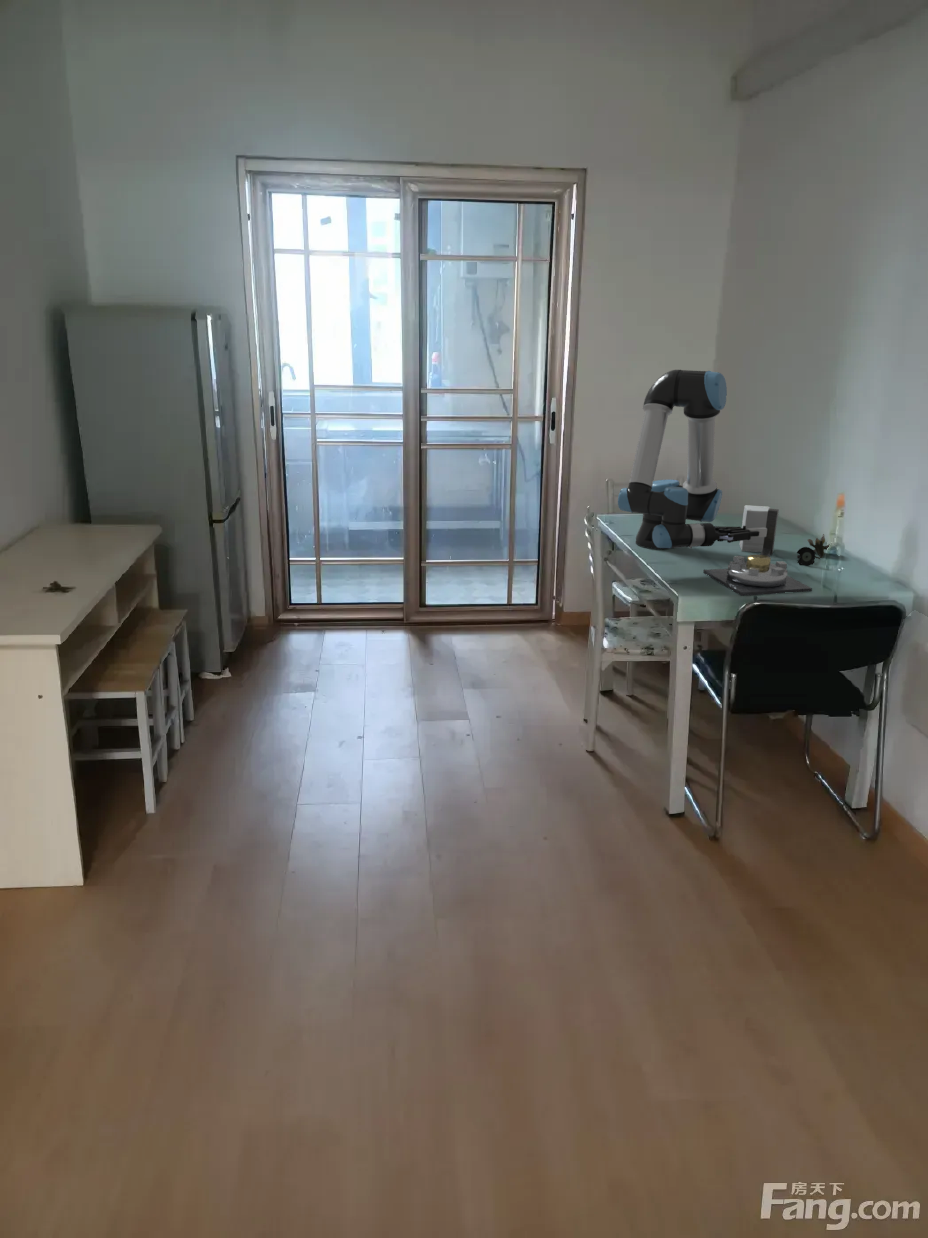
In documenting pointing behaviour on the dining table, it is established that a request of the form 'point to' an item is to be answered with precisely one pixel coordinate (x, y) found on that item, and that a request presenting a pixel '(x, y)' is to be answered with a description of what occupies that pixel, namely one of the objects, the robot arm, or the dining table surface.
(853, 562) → the dining table surface
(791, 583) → the flange plate
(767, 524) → the round grey fixture
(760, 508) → the supplement box
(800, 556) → the artificial flower
